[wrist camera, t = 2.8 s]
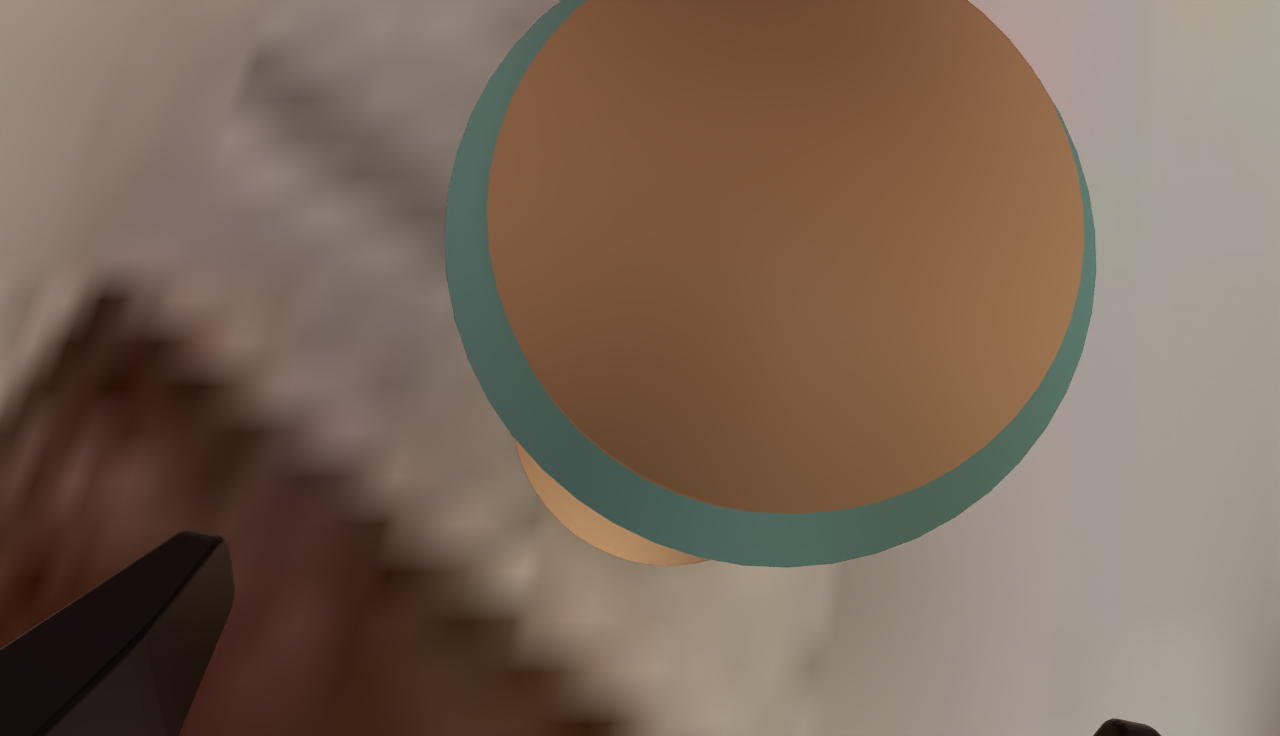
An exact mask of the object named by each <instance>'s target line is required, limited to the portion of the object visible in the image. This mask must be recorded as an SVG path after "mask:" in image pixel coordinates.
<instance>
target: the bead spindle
mask: <svg viewBox="0 0 1280 736" xmlns="http://www.w3.org/2000/svg"><path fill="white" fill-rule="evenodd" d="M444 237H445V255H446V273H447V282H448V287H449V292H450V297H451V302H452V307H453V313H454V318H455V322H456V324H457V327H458V330H459V333H460V336H461V339H462V342H463V345H464V348H465V351H466V354H467V357H468V360H469V362H470V364H471V366H472V368H473V370H474V372H475V374H476V376H477V378H478V380H479V382H480V384H481V386H482V388H483V390H484V392H485V394H486V396H487V398H488V400H489V402H490V403H491V405H492V406H493V408H494V409H495V411H496V412H497V414H498V415H499V417H500V418H501V420H502V421H503V422H504V424H505V425H506V427H507V428H508V430H509V431H510V433H511V434H512V436H513V437H514V438H515V441H516V446H517V450H518V453H519V456H520V459H521V462H522V465H523V468H524V470H525V472H526V474H527V476H528V478H529V480H530V482H531V484H532V486H533V488H534V490H535V491H536V493H537V494H538V496H539V497H540V499H541V500H542V502H543V503H544V504H545V506H546V507H547V508H548V509H549V510H550V511H551V512H552V514H553V515H554V516H555V517H556V518H557V519H558V520H559V521H560V522H561V523H562V524H563V525H565V526H566V527H567V528H568V529H569V530H570V531H571V532H573V533H574V534H575V535H577V536H578V537H580V538H581V539H583V540H584V541H586V542H587V543H589V544H590V545H592V546H594V547H596V548H598V549H600V550H603V551H605V552H607V553H609V554H611V555H614V556H617V557H620V558H623V559H626V560H629V561H634V562H640V563H645V564H651V565H671V566H673V565H684V564H694V563H698V562H703V561H707V560H716V561H722V562H728V563H733V564H739V565H747V566H768V567H798V566H810V565H821V564H832V563H837V562H841V561H846V560H850V559H854V558H859V557H863V556H868V555H872V554H876V553H879V552H881V551H884V550H887V549H889V548H892V547H895V546H897V545H900V544H903V543H905V542H908V541H911V540H913V539H916V538H918V537H920V536H922V535H924V534H925V533H927V532H929V531H931V530H933V529H935V528H936V527H938V526H940V525H942V524H944V523H946V522H947V521H949V520H951V519H953V518H955V517H956V516H958V515H959V514H960V513H962V512H963V511H964V510H966V509H967V508H968V507H970V506H971V505H972V504H974V503H975V502H977V501H978V500H979V499H981V498H982V497H983V496H985V495H986V494H987V493H989V492H990V491H991V490H992V489H993V488H994V487H995V486H996V485H997V484H998V483H999V482H1000V481H1001V480H1002V479H1003V478H1004V477H1005V476H1006V475H1007V474H1008V473H1009V472H1010V471H1011V470H1012V469H1013V468H1014V467H1015V466H1016V465H1017V464H1018V463H1020V461H1021V460H1022V459H1023V457H1024V456H1025V455H1026V454H1027V452H1028V451H1029V450H1030V448H1031V447H1032V446H1033V445H1034V443H1035V442H1036V441H1037V439H1038V438H1039V437H1040V435H1041V434H1042V433H1043V432H1044V430H1045V429H1046V427H1047V426H1048V424H1049V422H1050V420H1051V418H1052V417H1053V415H1054V413H1055V411H1056V410H1057V408H1058V406H1059V404H1060V403H1061V401H1062V399H1063V397H1064V396H1065V394H1066V392H1067V390H1068V387H1069V385H1070V382H1071V380H1072V377H1073V374H1074V372H1075V369H1076V367H1077V364H1078V362H1079V359H1080V357H1081V354H1082V351H1083V347H1084V343H1085V339H1086V335H1087V331H1088V327H1089V322H1090V318H1091V314H1092V306H1093V297H1094V287H1095V278H1096V251H1095V228H1094V222H1093V216H1092V210H1091V203H1090V197H1089V191H1088V188H1087V184H1086V181H1085V178H1084V174H1083V171H1082V167H1081V164H1080V161H1079V157H1078V154H1077V151H1076V149H1075V146H1074V144H1073V142H1072V140H1071V137H1070V135H1069V133H1068V131H1067V128H1066V126H1065V124H1064V121H1063V119H1062V117H1061V115H1060V113H1059V111H1058V110H1057V108H1056V106H1055V105H1054V103H1053V101H1052V100H1051V98H1050V96H1049V95H1048V93H1047V91H1046V90H1045V88H1044V86H1043V85H1042V83H1041V81H1040V80H1039V78H1038V77H1037V75H1036V74H1035V72H1034V70H1033V69H1032V67H1031V66H1030V65H1029V64H1028V62H1027V61H1026V60H1025V58H1024V57H1023V56H1022V55H1021V53H1020V52H1019V51H1018V49H1017V48H1016V47H1015V46H1014V44H1013V43H1012V42H1011V41H1010V39H1009V38H1008V37H1007V36H1006V35H1005V34H1004V33H1003V32H1002V31H1001V30H1000V29H999V28H998V27H997V26H996V25H995V24H994V23H993V22H992V21H991V20H990V19H989V18H988V17H987V16H986V15H985V14H984V13H983V12H982V11H980V10H979V9H978V8H976V7H975V6H974V5H973V4H971V3H970V2H969V1H968V0H561V1H560V2H559V3H558V4H557V5H555V6H554V7H553V8H552V9H550V10H549V11H548V12H547V13H545V14H544V15H543V16H542V17H541V18H540V19H539V20H538V21H537V22H536V23H535V24H534V25H533V26H532V27H531V28H530V29H529V30H528V32H527V33H526V34H525V35H524V36H523V37H522V38H521V39H520V40H519V41H518V42H517V43H516V44H515V45H514V46H513V48H512V49H511V51H510V52H509V53H508V55H507V56H506V58H505V59H504V60H503V62H502V63H501V65H500V66H499V67H498V69H497V70H496V71H495V73H494V74H493V76H492V77H491V78H490V80H489V82H488V84H487V86H486V88H485V90H484V91H483V93H482V95H481V97H480V99H479V101H478V103H477V105H476V106H475V108H474V110H473V112H472V114H471V116H470V119H469V122H468V124H467V127H466V130H465V132H464V135H463V138H462V141H461V143H460V146H459V149H458V151H457V155H456V159H455V164H454V168H453V173H452V177H451V182H450V186H449V191H448V198H447V210H446V222H445V235H444Z"/></svg>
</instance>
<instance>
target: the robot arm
mask: <svg viewBox="0 0 1280 736" xmlns="http://www.w3.org/2000/svg"><path fill="white" fill-rule="evenodd" d="M234 592H235V589H234V579H233V572H232V564H231V556H230V548H229V544H228V541H227V540H226V539H225V538H224V537H223V536H221V535H217V534H212V533H207V532H202V531H197V530H184V531H181V532H178V533H177V534H175V535H173V536H172V537H170V538H169V539H167V540H166V541H164V542H163V543H161V544H160V545H158V546H157V547H155V548H154V549H152V550H151V551H149V552H147V553H146V554H144V555H143V556H141V557H140V558H138V559H137V560H135V561H134V562H132V563H131V564H129V565H128V566H126V567H125V568H123V569H122V570H120V571H118V572H117V573H115V574H114V575H112V576H111V577H109V578H108V579H106V580H105V581H103V582H102V583H100V584H99V585H97V586H96V587H94V588H93V589H91V590H89V591H88V592H86V593H85V594H83V595H82V596H80V597H79V598H77V599H76V600H74V601H73V602H71V603H70V604H68V605H67V606H65V607H64V608H62V609H61V610H59V611H57V612H56V613H54V614H53V615H51V616H50V617H48V618H47V619H45V620H44V621H42V622H41V623H39V624H38V625H36V626H35V627H33V628H32V629H30V630H28V631H27V632H25V633H24V634H22V635H21V636H19V637H18V638H16V639H15V640H13V641H12V642H10V643H9V644H7V645H6V646H4V647H3V648H1V649H0V736H178V734H179V732H180V730H181V728H182V725H183V723H184V720H185V718H186V716H187V713H188V711H189V709H190V706H191V704H192V701H193V699H194V697H195V694H196V692H197V690H198V687H199V685H200V682H201V680H202V678H203V675H204V673H205V671H206V668H207V666H208V663H209V661H210V659H211V656H212V654H213V652H214V649H215V647H216V644H217V642H218V640H219V637H220V635H221V633H222V630H223V628H224V625H225V623H226V621H227V618H228V616H229V613H230V611H231V608H232V604H233V600H234ZM1093 736H1161V735H1160V734H1159V733H1158V732H1157V731H1156V730H1154V729H1153V728H1152V727H1150V726H1147V725H1145V724H1140V723H1136V722H1131V721H1126V720H1121V719H1110V720H1108V721H1106V722H1104V723H1103V724H1102V725H1101V727H1100V728H1099V729H1098V730H1097V732H1096V733H1095V734H1094V735H1093Z"/></svg>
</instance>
